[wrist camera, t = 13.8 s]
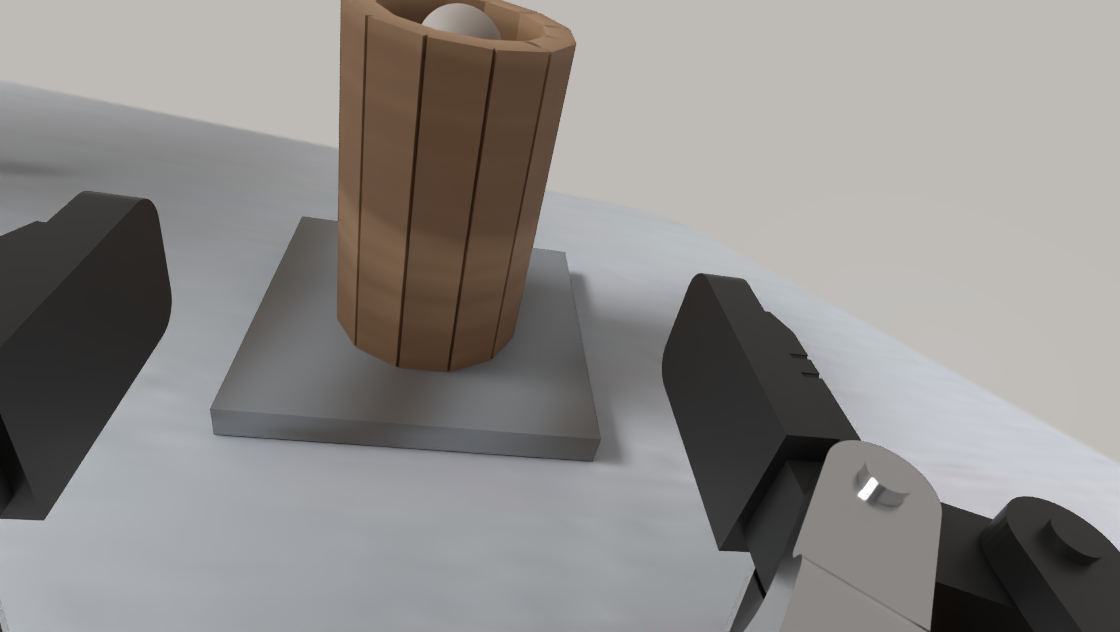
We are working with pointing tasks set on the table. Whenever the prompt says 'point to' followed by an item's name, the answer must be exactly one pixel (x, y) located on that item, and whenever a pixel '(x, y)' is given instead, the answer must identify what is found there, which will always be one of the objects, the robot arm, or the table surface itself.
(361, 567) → the table surface
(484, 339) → the wooden slatted cup
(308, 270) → the grey post stand
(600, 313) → the table surface
